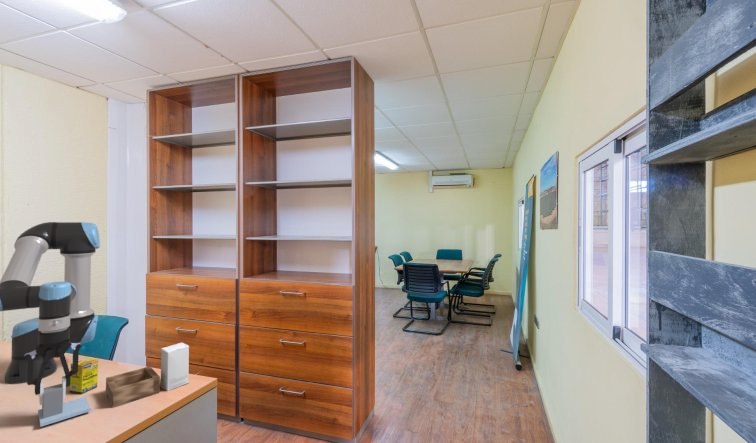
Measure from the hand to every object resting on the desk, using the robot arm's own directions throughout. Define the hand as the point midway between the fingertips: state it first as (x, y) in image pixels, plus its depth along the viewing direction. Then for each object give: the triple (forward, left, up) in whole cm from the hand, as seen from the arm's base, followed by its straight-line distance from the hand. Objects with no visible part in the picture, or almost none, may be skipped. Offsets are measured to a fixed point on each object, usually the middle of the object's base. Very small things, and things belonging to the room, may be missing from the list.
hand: (52, 399), depth 108 cm
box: (0, +22, -6) cm, 23 cm away
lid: (0, +3, -5) cm, 6 cm away
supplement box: (-17, +10, -6) cm, 21 cm away
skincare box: (+4, +35, -6) cm, 36 cm away
